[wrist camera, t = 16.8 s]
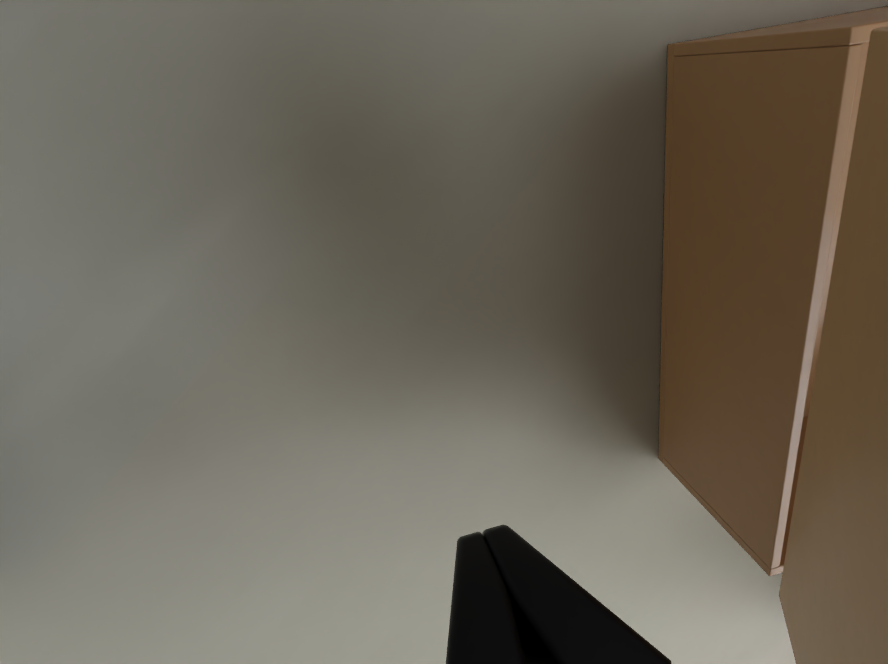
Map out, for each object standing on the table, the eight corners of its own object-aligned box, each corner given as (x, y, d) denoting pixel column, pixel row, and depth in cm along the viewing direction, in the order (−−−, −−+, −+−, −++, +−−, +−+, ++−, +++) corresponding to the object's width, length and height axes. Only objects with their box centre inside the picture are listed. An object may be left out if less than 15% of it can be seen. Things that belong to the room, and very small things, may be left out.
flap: (795, 597, 15) (778, 594, 15) (900, 24, 9) (870, 28, 9) (902, 982, 9) (873, 973, 9) (1421, 25, 3) (1314, 38, 3)
